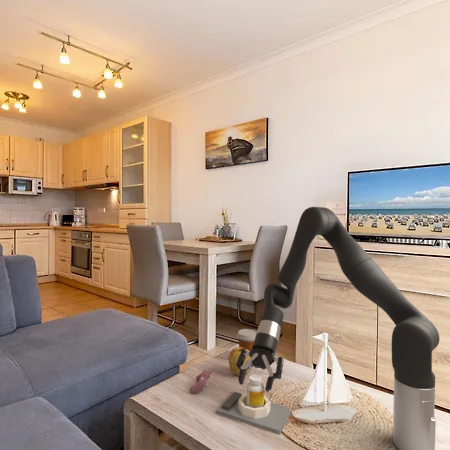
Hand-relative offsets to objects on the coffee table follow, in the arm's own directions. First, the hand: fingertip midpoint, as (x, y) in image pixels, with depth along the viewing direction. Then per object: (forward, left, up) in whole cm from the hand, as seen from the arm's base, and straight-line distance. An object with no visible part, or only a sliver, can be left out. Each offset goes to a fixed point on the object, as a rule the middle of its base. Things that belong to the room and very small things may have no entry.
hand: (253, 387), depth 96 cm
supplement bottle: (0, -1, -7) cm, 7 cm away
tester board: (0, -1, -8) cm, 8 cm away
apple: (+14, -22, -8) cm, 27 cm away
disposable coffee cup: (+16, -34, -8) cm, 38 cm away
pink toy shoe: (+22, -5, -9) cm, 24 cm away
